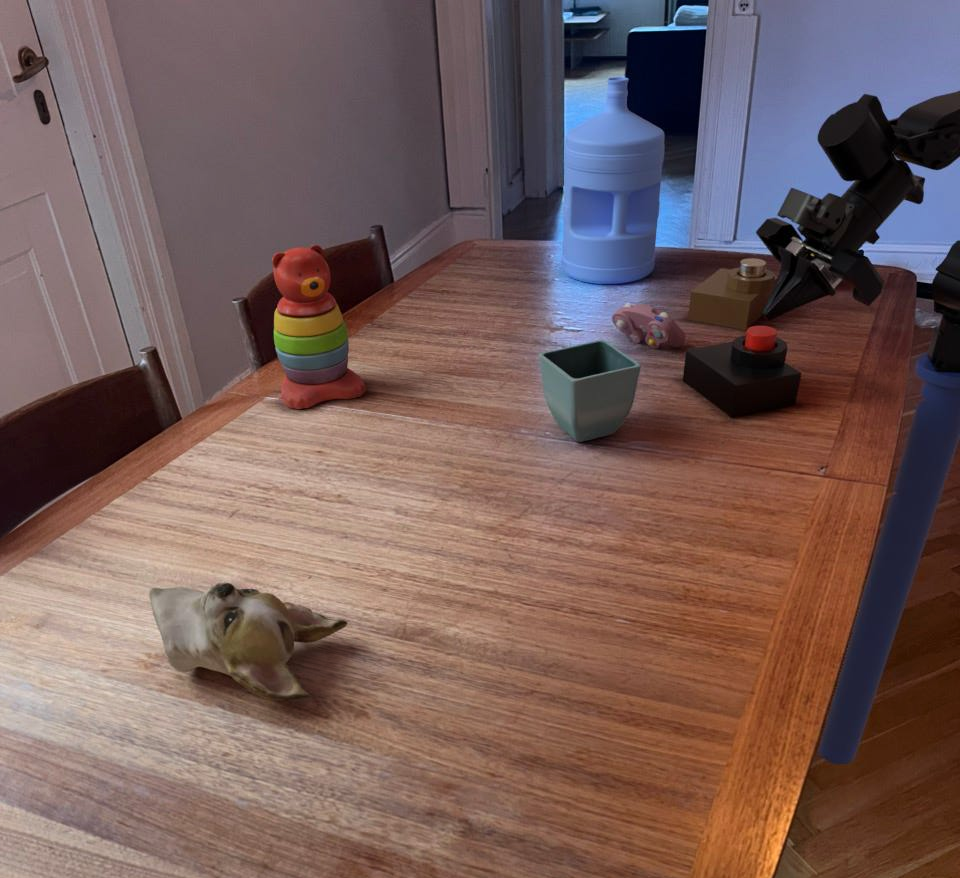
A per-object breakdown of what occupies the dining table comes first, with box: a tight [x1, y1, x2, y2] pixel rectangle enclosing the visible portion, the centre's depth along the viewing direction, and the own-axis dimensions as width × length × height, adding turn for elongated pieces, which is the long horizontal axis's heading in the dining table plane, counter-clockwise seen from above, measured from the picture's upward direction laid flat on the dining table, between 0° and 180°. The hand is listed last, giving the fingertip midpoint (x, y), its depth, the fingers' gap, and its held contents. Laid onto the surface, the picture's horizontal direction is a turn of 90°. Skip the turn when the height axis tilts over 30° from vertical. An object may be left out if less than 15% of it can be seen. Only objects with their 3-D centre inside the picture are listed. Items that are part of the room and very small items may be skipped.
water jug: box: [560, 76, 666, 285], centre depth 146 cm, size 16×16×28 cm
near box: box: [682, 334, 803, 419], centre depth 114 cm, size 10×12×6 cm
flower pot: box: [538, 339, 642, 443], centre depth 106 cm, size 9×9×9 cm
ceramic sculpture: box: [148, 582, 348, 702], centre depth 75 cm, size 11×9×15 cm
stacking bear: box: [271, 244, 367, 410], centre depth 115 cm, size 11×10×18 cm
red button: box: [745, 325, 778, 351], centre depth 113 cm, size 4×4×2 cm
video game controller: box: [611, 302, 686, 350], centre depth 128 cm, size 10×5×7 cm, turn 47°
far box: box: [687, 266, 778, 331], centre depth 136 cm, size 10×12×6 cm
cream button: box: [738, 257, 767, 278], centre depth 133 cm, size 4×4×2 cm
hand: (765, 317), depth 111 cm, fingers closed
